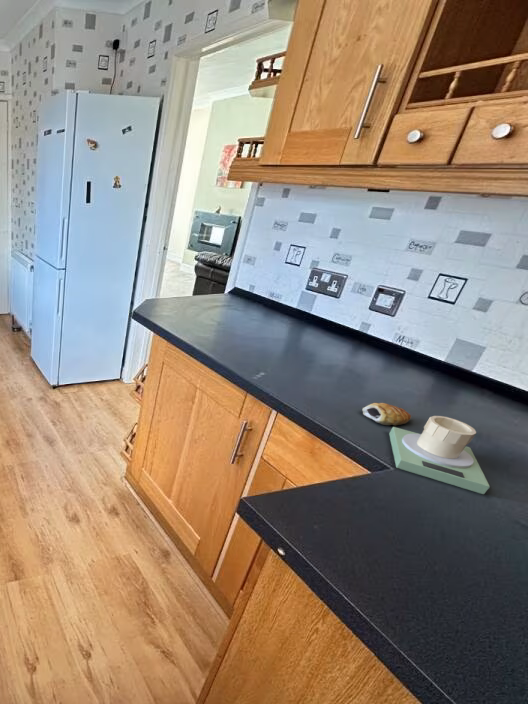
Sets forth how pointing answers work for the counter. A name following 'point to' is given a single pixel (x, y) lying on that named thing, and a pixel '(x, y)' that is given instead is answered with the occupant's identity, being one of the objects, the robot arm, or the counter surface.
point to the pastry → (386, 414)
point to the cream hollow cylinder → (445, 437)
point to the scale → (437, 463)
